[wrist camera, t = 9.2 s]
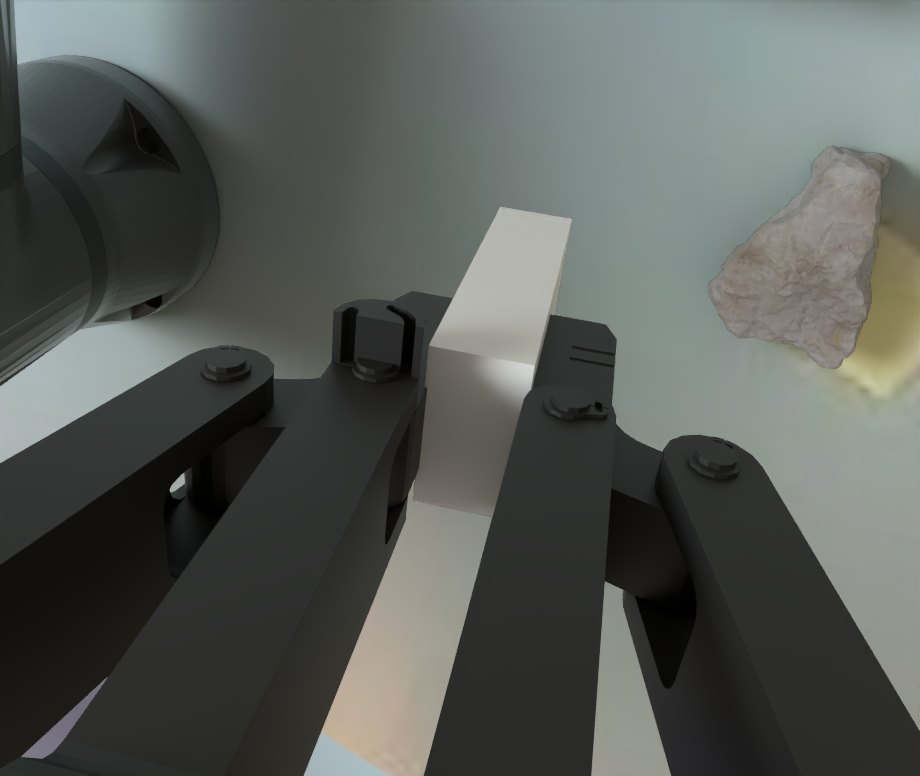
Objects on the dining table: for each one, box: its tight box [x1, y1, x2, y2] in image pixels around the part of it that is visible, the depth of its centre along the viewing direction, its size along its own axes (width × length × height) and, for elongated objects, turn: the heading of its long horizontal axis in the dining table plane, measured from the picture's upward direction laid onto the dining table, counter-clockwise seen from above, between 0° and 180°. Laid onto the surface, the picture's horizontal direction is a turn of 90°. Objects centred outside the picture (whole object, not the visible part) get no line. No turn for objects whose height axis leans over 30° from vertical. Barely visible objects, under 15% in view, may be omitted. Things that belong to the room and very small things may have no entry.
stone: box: [707, 145, 890, 369], centre depth 40 cm, size 10×8×6 cm
